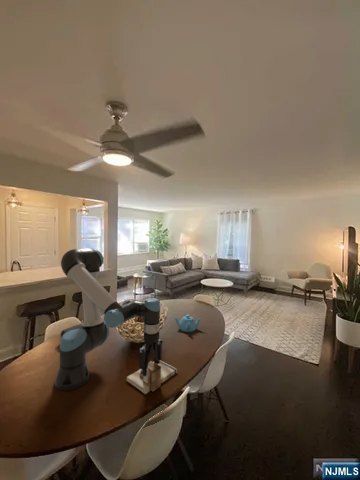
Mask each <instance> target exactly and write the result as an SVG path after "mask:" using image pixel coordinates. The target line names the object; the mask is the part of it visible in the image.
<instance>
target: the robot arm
mask: <svg viewBox="0 0 360 480" xmlns="http://www.w3.org/2000/svg"><path fill="white" fill-rule="evenodd" d="M103 264H104V257H103V254H102V252H101V251H99V250H98V249H97V248H75V249H74V248H73V249H70V250H68V251H66V252H65V253H64V254H63V255H62V257H61V260H60V266H61V270H62V272H63V274H64V275H65V276H66V277H67V278H68V279H69V280H73V281H74V282H75V284H77V286H78V287H79V288H80V289H81V297H82V299H81V300H82V309H83V322H82V323H81V324H82V329H75V330H70V331H68V332H66V333H65V334H64V335H63V336H62V337H61V336H60V342H59V368H58V370H57V373H56V377H55V380H54V381H55V382H54V387H55V388H56V389H57V390H60V391H72V390H76V389H78V388H80V387H82V386H84V385H86V383H88V381H89V379H90V371H89V368H88V365H87V362H86V361H87V359H86V358H87V354H88V353H89V352H91V351H93V350H95V349H96V348H99V347H100V346H102V345H104V344H105V342H107V341H108V339H109V337H110V328H111V329H115V328H116V327H119V326H122V325H123V324H124V323H126V322H128V321H130V320H131V319H134V318H143V333H144V336H143V341H144V343H143V345H142V347H139V348H138V352H139V361H138V363H139V365H138V369H139V370H140V369H142V370H143V381H144V382H146V383H148V376H149V369H148V363H149V362H150V358H151V355H152V358H153V362H154V363H156V364H157V365H158V364H159V363H160V361H159V360H161V361H162V354H163V353H162V349H163V346H162V345H163V343H164V342H163V340H162V339H160V325H161V324H160V323H161V322H160V318H161V317H160V316H161V315H160V314H161V313H160V312H161V301H160V299H158V298H156V297H148V298H146V299H145V300H144V301H142V300H136V299H130V298H129V299H125V300H124V301H123V303H122V305H121V304H120V303H119V302H118V301H117V300H116V298H114V297H113V296H112V294H110V293H109V291H108V290H107V289H106V288H105V287H104V286H103V285H102V284H101V283H100V282H99V280H98V275H99V273H100V271H101V269H100V268H101V267H102V266H103ZM101 312H102V313H103V317H102V316H101V315H102V314H101Z"/></svg>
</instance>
